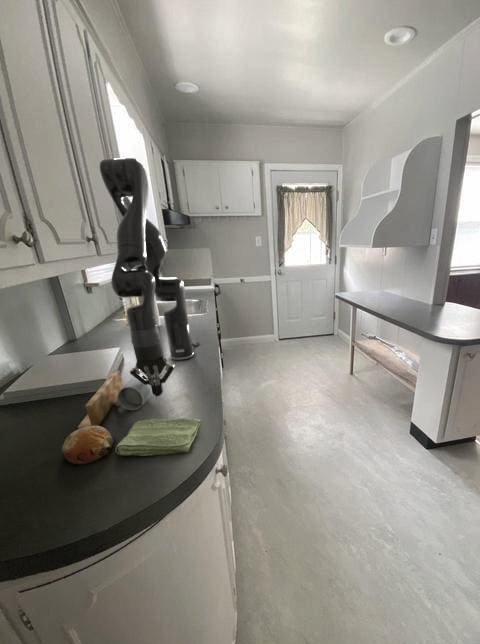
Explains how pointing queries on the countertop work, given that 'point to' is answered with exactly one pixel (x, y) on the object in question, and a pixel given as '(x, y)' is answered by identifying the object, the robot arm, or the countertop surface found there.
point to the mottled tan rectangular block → (102, 401)
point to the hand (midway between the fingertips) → (158, 394)
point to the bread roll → (87, 444)
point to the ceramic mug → (133, 395)
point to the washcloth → (159, 437)
